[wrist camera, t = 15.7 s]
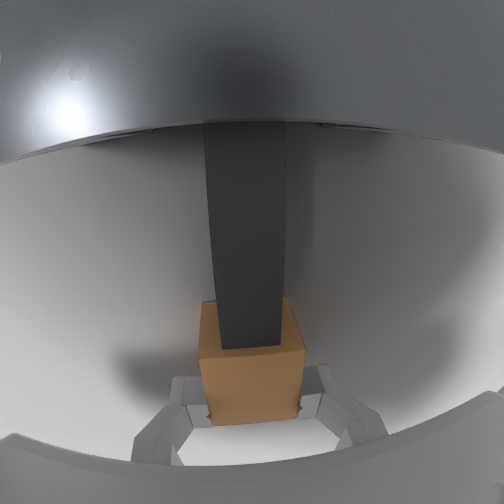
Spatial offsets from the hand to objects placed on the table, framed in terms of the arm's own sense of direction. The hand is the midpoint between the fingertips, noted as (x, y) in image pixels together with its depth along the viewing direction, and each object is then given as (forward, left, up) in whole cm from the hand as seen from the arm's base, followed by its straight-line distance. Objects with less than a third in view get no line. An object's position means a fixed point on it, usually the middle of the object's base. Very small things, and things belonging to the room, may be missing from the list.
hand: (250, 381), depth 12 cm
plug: (-8, 0, -2) cm, 8 cm away
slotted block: (-14, 0, -2) cm, 14 cm away
